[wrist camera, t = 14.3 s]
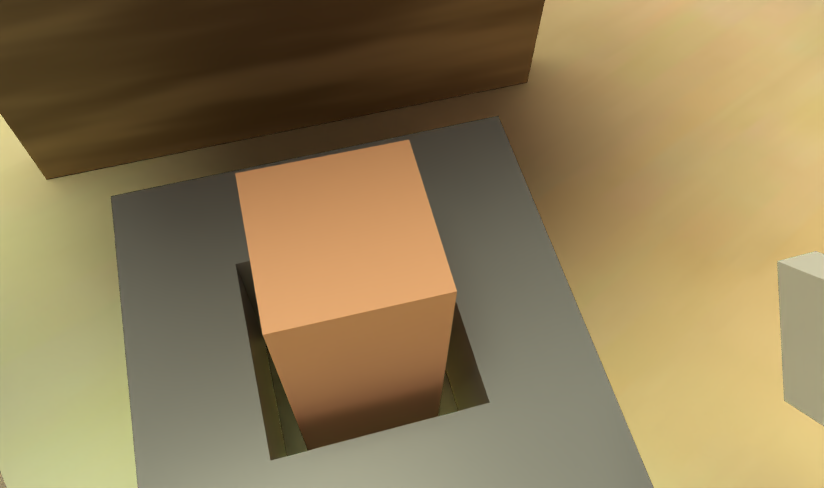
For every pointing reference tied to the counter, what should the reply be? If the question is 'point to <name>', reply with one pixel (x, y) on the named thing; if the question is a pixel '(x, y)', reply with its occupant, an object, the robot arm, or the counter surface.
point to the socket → (466, 361)
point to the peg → (350, 289)
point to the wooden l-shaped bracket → (237, 68)
